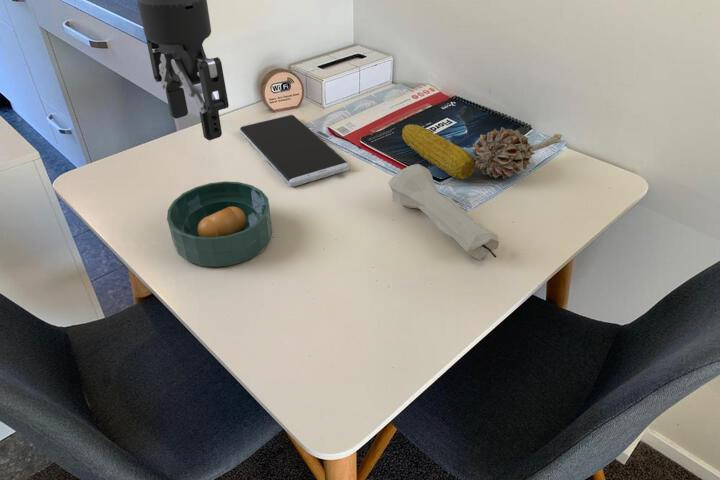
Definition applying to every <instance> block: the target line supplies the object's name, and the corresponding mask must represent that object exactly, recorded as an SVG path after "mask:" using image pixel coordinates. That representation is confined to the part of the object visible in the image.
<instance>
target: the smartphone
mask: <svg viewBox="0 0 720 480" xmlns="http://www.w3.org/2000/svg"><path fill="white" fill-rule="evenodd" d="M239 132H240V133H241V135H243V137H245V139H246V140H247V141H248V142H249V143H250V144H251V145H252V146H253V147H254V148H255V150H256V151H257V152H258V153H259V154H260V155H261V156H262V157H263V158H264V159H265V161H266V162H267V163H268V164H269V165H270V166H271V167H272V168H273V170H275V171H276V172H277V173H278V175H279V176H280V177H281V178H282V179H283V180H284V181H285V182H286V183H287V185H288V186H290V187H297V186H301V185H304V184H308V183H310V182H314V181H317V180H320V179H324V178H327V177H331V176H333V175H337V174H340V173H343V172H347V171H349V169H350V163H349V162H348V161H347V160H346V159H344V158H343V157H342V156H341V155H340V154H338V153H337V152H336V151H335V150H334V149H333V148H332V147H331V146H329V144H327V143H326V142H325V141H323V139H322V138H320V136H318V135H317V134H316V133H315V132H313V130H311V129H310V128H309V127H308V126H306V124H304V123H303V121H301V120H299V119H298V118H297V117H296V116H295V115H294V114H292V113H291V114H286V115H281V116H277V117H272V118H268V119H264V120H259V121H256V122H252V123H248V124H247V123H246V124H243V125H240V127H239Z"/></svg>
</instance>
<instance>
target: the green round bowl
mask: <svg viewBox="0 0 720 480" xmlns="http://www.w3.org/2000/svg"><path fill="white" fill-rule="evenodd" d="M227 207H238V208H240V209H241V210H242V211H243V212H244V213H245V216H246V224H245V226H244V227H243V229H242V230H240V231H238V232H236V233H234V234H231V235H228V236H221V237H213V238H210V237H200V236H199V234H198V225H199V223H200V221H201V220H202V219H203V218H205V217H207V216H209V215H212V214H214V213H216V212H218V211H221V210H223V209H225V208H227ZM166 221H167V225H168V228H169V232H170V235H171V240H172V242H173V246H174V248H175V251H176V252H177V254H178V255H179V256H180V257H181V258H182V259H184V260H185V261H187V262H188V263H191V264H195V265H198V266H201V267H212V268H213V267H215V268H220V267H226V266H234V265H237V264H239V263H243V262H246V261H249V260H250V259H252V258H253V257H255V256H256V255H258V254H260V253H261V252H262V251H264V249H265V248H266V247H267V246H268V245H269V244H270V241H271V239H272V236H273V225H272V216H271V207H270V202H269V197H268V196H267V195H266V194H265V192H264V191H262V190H261V189H260V188H258V187H256V186H254V185H252V184H249V183H245V182H240V181H217V182H216V181H215V182H209V183H206V184H202V185H197V186H195V187H193V188H191V189H189V190H187V191H185V192H183V193H181V194H179V196H178V197H176V198H175V199H174V200H173V201H172V202H171V204H170V206H169V207H168V209H167V214H166Z"/></svg>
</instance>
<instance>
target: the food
mask: <svg viewBox="0 0 720 480" xmlns="http://www.w3.org/2000/svg"><path fill="white" fill-rule="evenodd" d="M401 133H402V134H401V137H402V139H403V141H404V143H405V144H406V145H407V146H408V147H409V146H410V147H409V148H410V149H411V150H413V149H414V150H415V151H417V152H416V153H417V154H418V153H419V154H418V155H419V157H421V158H423V159H424V160H426V161H427V162H428V163H430V164H431V165H433V166H435V167H436V168H437V169H439V168H441V169H440V170H441V171H443V170H444V171H443V172H445V173H446V174H447V175H449V176H450V177H453V178H455V179H457V180H464V179H467V178H469V177H471V175H472V174H473V173H475V169H476V167H475V163H476V162H474V156H472V154H471V153H470V152H469V151H468V150H465V149H464V148H463V147H460V146H459V145H456V144H455V143H453V142H451V141H449V140H447V139H445V138H444V137H442V136H440V135H439V134H436V133H435V132H432V131H431V130H429V129H427V128H426V127H423V126H421V125H417V124H409V123H408V124H406V125H405V126H404V127H403V128H402V130H401ZM414 150H413V151H414ZM415 151H414V152H415ZM434 164H435V165H434Z"/></svg>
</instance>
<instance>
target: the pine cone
mask: <svg viewBox="0 0 720 480" xmlns="http://www.w3.org/2000/svg"><path fill="white" fill-rule="evenodd" d="M562 137H563V135H562V133H554V134H553V135H552V136H551V137H549V138H547V139H545V140H544V141H540V142H538V143H535V144H533V145H532V143H531V142H529V137H527V136H526V135H524V134H521V133H520V131H519V130H518V129H516V130H513V129H512V128H510V129H509V128H507V129H506V128H504V127H503V126H501V128H500V130H497V129H496V128H494V129H493V130H492V131H489V132H486V134H480V135H479V139H476V142H475V143H472V146H473V149H471V150H470V152H469V153H472V154H473V158H474V162H475V168H478V172H481V173H482V174H483V175H488V176H489V177H490V178H493V177H494V178H495V179H498V178H499V176H501V177H502V179H506V178H507V177H512V176H514V175H515V174H520V172H521V170H522V169H524V170H527V169H528V166H531V165H532V164H531V161H530V159H532V158H533V157H532V156H533V155H535V154H536V153H535V152H536V151H539V150H542V149H544V148H548V147H550V146H552V145H554V144H558V143H560V144H562V143H563V142H562V140H561V139H562Z"/></svg>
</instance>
